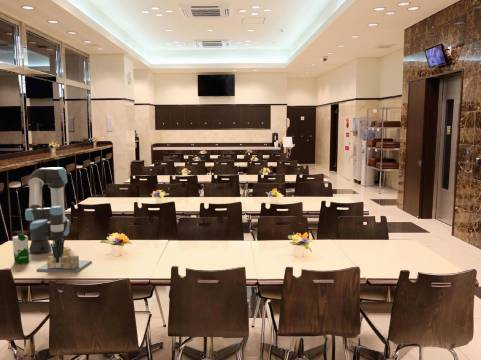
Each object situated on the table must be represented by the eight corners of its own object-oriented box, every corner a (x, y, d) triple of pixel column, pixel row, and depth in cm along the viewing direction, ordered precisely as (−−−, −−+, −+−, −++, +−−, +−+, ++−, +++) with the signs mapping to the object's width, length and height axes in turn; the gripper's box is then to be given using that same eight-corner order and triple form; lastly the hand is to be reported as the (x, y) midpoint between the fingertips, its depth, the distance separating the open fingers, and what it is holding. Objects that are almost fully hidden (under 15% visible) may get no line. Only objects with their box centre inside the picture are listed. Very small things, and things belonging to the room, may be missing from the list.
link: (78, 266, 295) (78, 255, 295) (74, 268, 289) (74, 257, 289) (51, 266, 296) (50, 255, 296) (46, 268, 290) (46, 257, 290)
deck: (54, 261, 312) (53, 245, 310) (91, 262, 308) (91, 247, 307) (36, 271, 291) (35, 254, 289) (76, 272, 287) (75, 256, 286)
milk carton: (17, 265, 303) (15, 235, 301) (12, 262, 310) (10, 233, 307) (30, 262, 310) (29, 233, 307) (26, 259, 316) (24, 231, 313)
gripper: (57, 228, 293) (58, 264, 295) (45, 232, 280) (47, 270, 282) (68, 228, 292) (69, 264, 294) (57, 233, 279) (59, 270, 281)
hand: (58, 267), depth 288 cm, fingers closed
